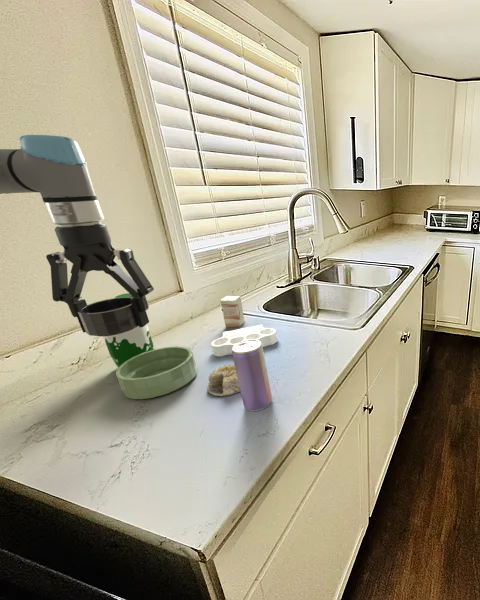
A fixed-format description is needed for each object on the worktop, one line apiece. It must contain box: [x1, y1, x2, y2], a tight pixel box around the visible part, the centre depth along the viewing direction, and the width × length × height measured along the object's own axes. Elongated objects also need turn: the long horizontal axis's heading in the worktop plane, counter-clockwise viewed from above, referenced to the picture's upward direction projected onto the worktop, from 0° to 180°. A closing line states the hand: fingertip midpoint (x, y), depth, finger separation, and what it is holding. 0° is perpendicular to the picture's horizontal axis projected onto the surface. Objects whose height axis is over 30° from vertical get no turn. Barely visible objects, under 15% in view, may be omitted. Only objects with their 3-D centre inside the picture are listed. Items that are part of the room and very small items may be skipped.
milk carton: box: [102, 292, 155, 368], centre depth 86 cm, size 9×9×20 cm
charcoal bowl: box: [78, 297, 139, 337], centre depth 70 cm, size 10×10×6 cm
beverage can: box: [232, 340, 273, 412], centre depth 71 cm, size 6×6×15 cm
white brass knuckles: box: [210, 324, 278, 358], centre depth 100 cm, size 3×18×15 cm
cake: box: [206, 363, 241, 397], centre depth 80 cm, size 10×10×5 cm
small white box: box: [220, 295, 246, 328], centre depth 112 cm, size 5×4×10 cm
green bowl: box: [115, 345, 198, 400], centre depth 81 cm, size 15×15×6 cm
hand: (117, 327), depth 71 cm, fingers closed on charcoal bowl, 10 cm apart
